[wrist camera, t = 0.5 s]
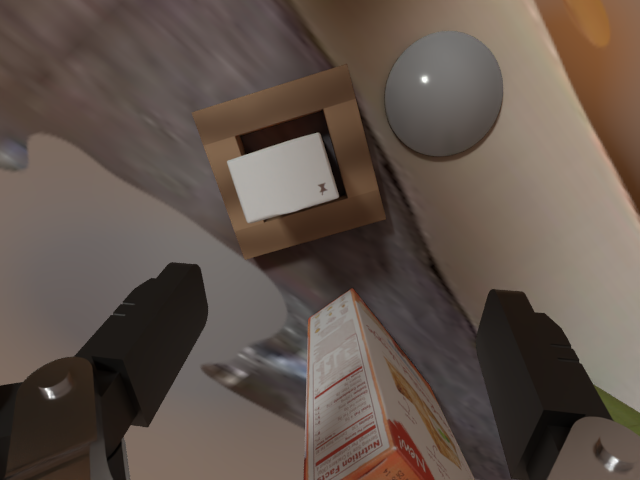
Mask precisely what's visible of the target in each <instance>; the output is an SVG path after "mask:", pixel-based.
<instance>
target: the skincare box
mask: <svg viewBox="0 0 640 480" xmlns="http://www.w3.org/2000/svg"><path fill="white" fill-rule="evenodd" d="M227 164H228V167H229V170H230V174H231V177H232V180H233V183H234V186H235V189H236V192H237V194H238V198H239V201H240V204H241V207H242V209H243V212H244V215H245V218H246V221H247V223H254V222H258V221H261V220H265V219H268V218H272V217H275V216H279V215H283V214H288V213H292V212H295V211H298V210H301V209H304V208H308V207H311V206H314V205H318V204H321V203H324V202H328V201H331V200H334V199H337V198H339V193H338V190H337V187H336V184H335V180H334V177H333V174H332V170H331V167H330V163H329V160H328V157H327V153H326V150H325V147H324V144H323V141H322V137H321V135H320V133H314V134H310V135H307V136H303V137H299V138H296V139H292V140H289V141H286V142H283V143H280V144H277V145H273V146H270V147H267V148H264V149H261V150H258V151H255V152H252V153H249V154H246V155H243V156H240V157H237V158H234V159H231V160H228V161H227Z"/></svg>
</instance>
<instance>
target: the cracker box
mask: <svg viewBox="0 0 640 480" xmlns="http://www.w3.org/2000/svg"><path fill="white" fill-rule="evenodd" d="M304 480H475V479H474V477H473V475H472V473H471V471H470V469H469V466H468V464H467V462H466V460H465V458H464V456H463V454H462V452H461V450H460V448H459V446H458V444H457V442H456V440H455V438H454V435H453V433H452V431H451V429H450V427H449V425H448V423H447V421H446V419H445V416H444V414H443V412H442V410H441V408H440V406H439V404H438V402H437V400H436V398H435V396H434V393H433V391H432V389H431V387H430V385H429V384H428V383H427V382H426V380H425V379H424V378H423V377H422V375H421V374H420V373H419V372H418V370H417V369H416V368H415V366H414V365H413V364H412V363H411V361H410V360H409V359H408V357H407V356H406V355H405V354H404V352H403V351H402V350H401V349H400V347H399V346H398V345H397V344H396V342H395V341H394V340H393V338H392V337H391V336H390V335H389V333H388V332H387V331H386V330H385V328H384V327H383V326H382V324H381V323H380V322H379V321H378V319H377V318H376V317H375V316H374V314H373V313H372V312H371V310H370V309H369V308H368V307H367V305H366V304H365V303H364V302H363V300H362V299H361V298H360V297H359V295H358V294H357V293H356V292H355V290H354V289H353V288H351V289H350V290H348V291H347V292H346V293H344V294H343V295H341V296H340V297H338V298H337V299H335V300H334V301H333V302H331V303H330V304H328V305H327V306H326V307H324V308H323V309H321V310H320V311H319V312H317V313H316V314H314V315H313V316H311V317H310V318H309V319H308V348H307V385H306V420H305V457H304Z"/></svg>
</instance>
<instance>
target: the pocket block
mask: <svg viewBox="0 0 640 480" xmlns="http://www.w3.org/2000/svg"><path fill="white" fill-rule="evenodd" d="M320 111H323V113H324V117H325V120H326V124H327V127H328V131H329V135H330V138H331V142H332V145H333V149H334V153H335V156H336V160H337V163H338V167H339V171H340V174H341V178H342V182H343V185H344V189H345V192H346V194H345V195H342V196H339V198H337V199H334V200H331V201H328V202H324V203H321V204H318V205H314V206H311V207H308V208H304V209H301V210H298V211H295V212H292V213H288V214H283V215H279V216H275V217H272V218H268V219H265V220H261V221H258V222H254V223H247V221H246V218H245V215H244V212H243V209H242V207H241V204H240V201H239V198H238V194H237V192H236V189H235V186H234V183H233V180H232V177H231V174H230V170H229V167H228V164H227V161H228V160H231V159H234V158H237V157H240V156H243V155H246V152H245V149H244V146H243V143H242V141H241V138H240V136H242V135H245V134H249V133H252V132H255V131H258V130H262V129H265V128H268V127H271V126H275V125H278V124H281V123H284V122H288V121H291V120H294V119H297V118H301V117H304V116H307V115H310V114H314V113H317V112H320ZM192 115H193V118H194V121H195V123H196V126H197V129H198V132H199V134H200V137H201V140H202V143H203V145H204V148H205V151H206V154H207V156H208V159H209V162H210V165H211V168H212V170H213V173H214V176H215V179H216V181H217V184H218V187H219V190H220V192H221V195H222V198H223V201H224V203H225V206H226V209H227V212H228V214H229V217H230V220H231V223H232V225H233V228H234V231H235V234H236V237H237V239H238V242H239V245H240V248H241V250H242V253H243V256H244V259H245V260H246V259H249V258H252V257H256V256H259V255H263V254H266V253H270V252H273V251H277V250H280V249H284V248H287V247H291V246H294V245H298V244H301V243H305V242H308V241H312V240H315V239H319V238H322V237H326V236H329V235H333V234H336V233H340V232H343V231H347V230H350V229H353V228H357V227H360V226H364V225H367V224H371V223H374V222H378V221H381V220H385V219H386V216H385V212H384V208H383V204H382V200H381V197H380V193H379V189H378V185H377V181H376V177H375V173H374V169H373V165H372V161H371V157H370V153H369V149H368V145H367V141H366V137H365V133H364V129H363V126H362V122H361V118H360V114H359V110H358V106H357V102H356V98H355V94H354V90H353V86H352V82H351V78H350V74H349V70H348V66H347V64H345V65H341V66H338V67H335V68H332V69H329V70H326V71H322V72H319V73H316V74H313V75H310V76H307V77H303V78H300V79H297V80H294V81H291V82H287V83H284V84H281V85H278V86H275V87H272V88H268V89H265V90H262V91H259V92H256V93H252V94H249V95H246V96H243V97H240V98H237V99H233V100H230V101H227V102H224V103H221V104H217V105H214V106H211V107H208V108H205V109H202V110H198V111H195V112H192Z"/></svg>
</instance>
